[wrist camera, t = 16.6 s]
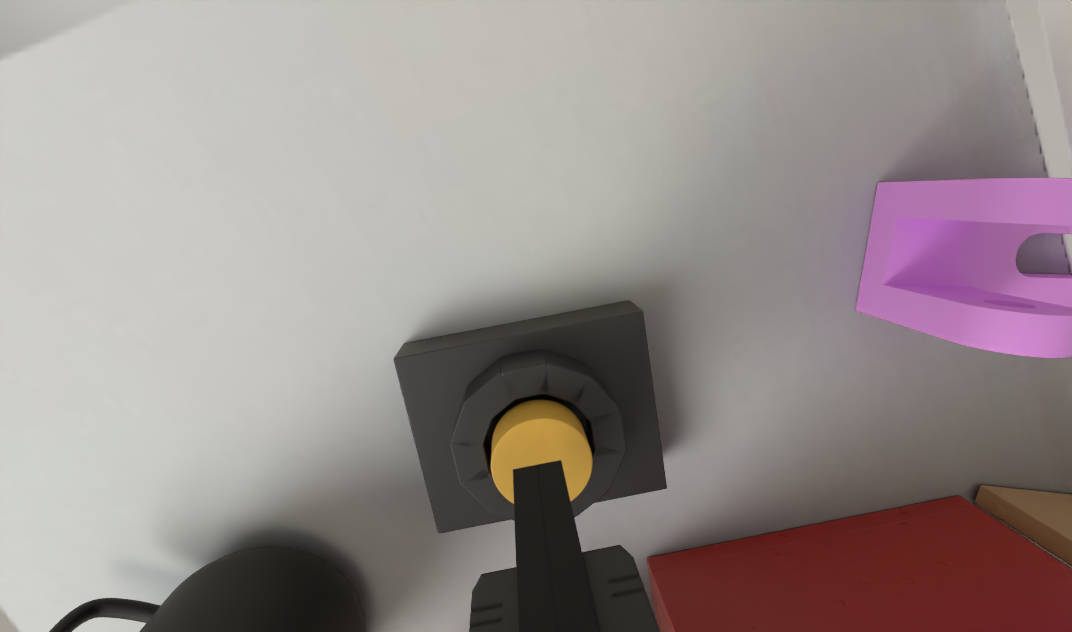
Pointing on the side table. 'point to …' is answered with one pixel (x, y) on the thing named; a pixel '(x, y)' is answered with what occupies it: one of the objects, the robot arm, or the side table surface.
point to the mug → (243, 598)
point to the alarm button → (540, 444)
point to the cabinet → (868, 578)
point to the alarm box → (522, 375)
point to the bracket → (969, 263)
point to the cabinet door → (1033, 515)
